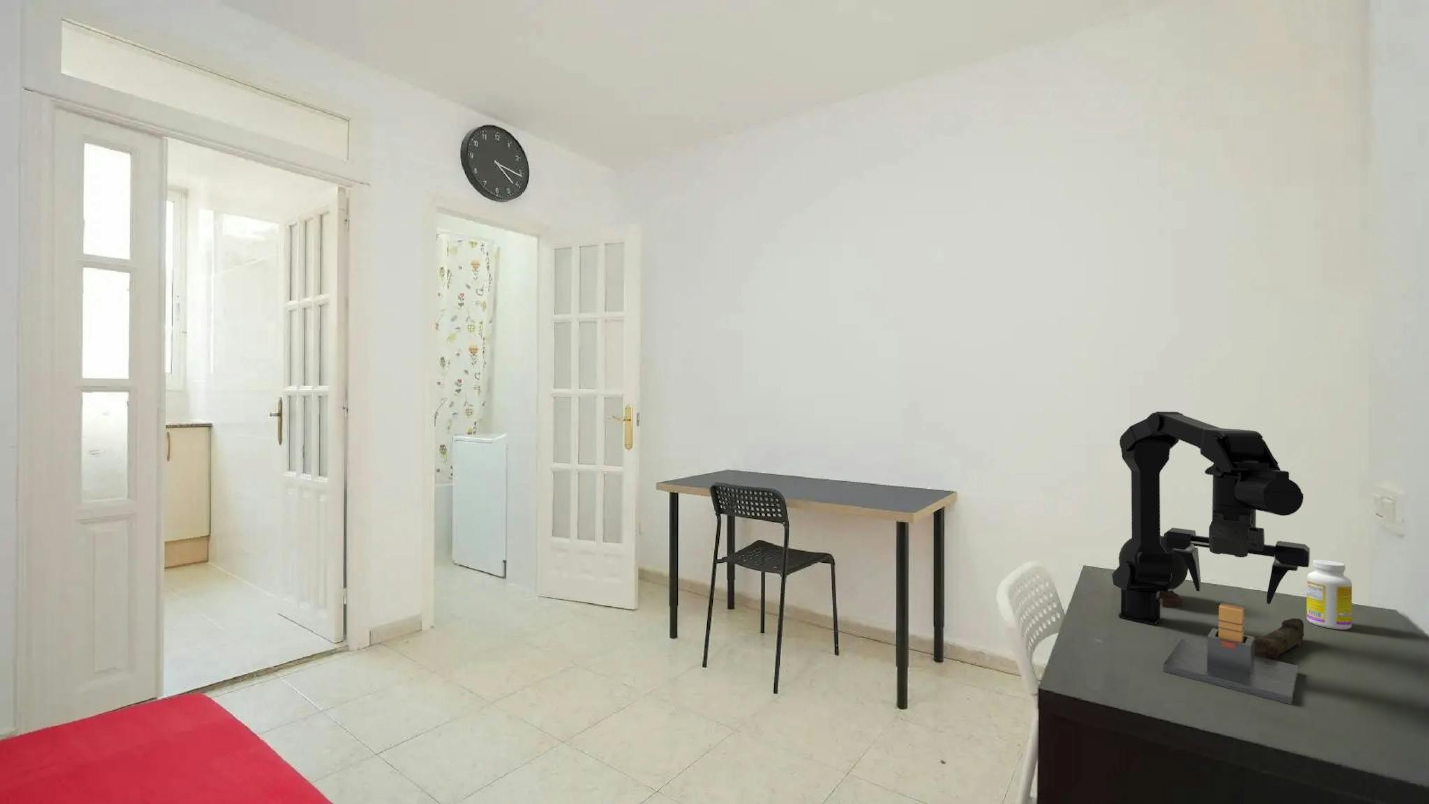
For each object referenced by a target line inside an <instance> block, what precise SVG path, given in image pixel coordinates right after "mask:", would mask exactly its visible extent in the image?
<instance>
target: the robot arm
mask: <svg viewBox="0 0 1429 804" xmlns="http://www.w3.org/2000/svg"><path fill="white" fill-rule="evenodd" d="M1179 441H1182V442H1184V443H1187V444H1189V445H1191V446H1194V447H1196V448H1198V449H1199V451H1200V455H1201V456H1203V457H1204V458H1206V459H1207V460H1208V461H1210V462H1211V463H1212V465H1211V466H1209V467H1207V468H1206V469H1205V470H1204V474H1206V475H1210V476H1212V497H1211V498H1212V499H1211V501H1212V502H1211V503H1212V504H1211V505H1212V507H1211V522H1210V524H1209V527H1208V536H1202V535H1197V532H1196V530H1193V529H1187V528H1186V529H1185V528H1177V527H1170V529H1168V530H1167V531H1165V532H1164V533H1163V536H1164V537H1163V546H1164V547H1167V548H1174V549H1173V550H1172V551H1173V553H1176V554H1179V555H1180V556H1181V557H1182V558H1183V560H1184V562H1185V563H1186V565H1187V567H1188V572H1189V574H1190V576H1191V580H1192V582H1193V585H1194V588H1195V590H1196V592H1201V587H1202V585H1201V584H1202V578H1201V569H1200V558H1199V557H1200V555H1199V548H1205V549H1206V548H1208V549H1209V552H1211V553H1212V554H1214V555H1215V554H1216V555H1230V556H1234V557H1235V558H1246V557H1248V556H1249V555H1258V556H1263V557H1270V558H1271V557H1272V558H1274V559H1273V563H1272V565H1271V571H1270V577H1269V583H1268V588H1267V593H1266V604H1267V605H1270V604H1271V603H1272V600H1273V599H1274V596H1275V594H1276V591H1277V589H1278V587H1279V584H1280V583H1281V581H1282V580H1283V578H1284V577H1285V576H1286V574H1287V573H1288V572H1289V571H1292V572H1297V571H1298V569H1299V568H1310V562H1311V561H1310V559H1311V550H1310V547H1309V546H1308V545H1307V544H1305V543H1298V542H1292V541H1290V542H1289V541H1282V540H1277V541H1276V543H1275V545H1272V544H1265V528H1263V527H1257V511H1259V512H1264V513H1268V514H1272V515H1278V516H1281V517H1282V516H1283V517H1285V516H1290V515H1294V514H1295V513H1296V512H1297V511H1298V510H1299V509H1300V508H1301V507H1302V505H1303V503H1304V493H1303V492H1302V489H1301V488H1300V486H1299V485H1298V483H1296V482H1295V481H1294V480H1292V479H1290V472H1289V471H1288V470H1287V471H1286V470H1281V468H1280V466H1279V462H1278V461H1277V459H1276V458H1275V457H1274V456H1273V454H1272V452H1271V450H1270V448H1269V446H1268V445H1267V442H1266V441H1265V439H1264V437H1263V435H1262V434H1261V433H1260V432H1259V431H1256V430H1249V429H1240V428H1239V429H1238V428H1237V429H1236V428H1223V427H1219V426H1216V425H1212V424H1210V423H1207V422H1204V421H1202V420H1198V419H1195V418H1193V417H1189V416H1187V415H1184V414H1183V413H1181V412H1179V411H1155V412H1152V413H1150V414H1149V416H1148V417H1147V418H1145V419H1143V420H1141V421H1139V422H1136V423H1134V424H1132V425H1130V426H1129V427H1128V428H1127V429H1126V430H1125V431H1124V432H1123V433H1122V435H1121V436H1120V439H1119V446H1120V449H1121V450H1120V451H1121V458H1122V460H1123V461H1124V463H1125V464H1126V466H1127V467H1128V468H1129V470H1130V473H1131V474H1130V480H1131V481H1130V482H1131V483H1130V485H1131V486H1130V490H1131V501H1130V502H1131V538H1132V540H1131V541H1130V543H1129V544H1128V546H1127V547H1126V548H1125V550H1124V551H1123V556H1122V563H1121V564H1120V565H1118V566H1117V568H1116V569H1115V571H1113V572H1112V574H1111V576H1112V577H1111V578H1112V583H1113V585H1114V586H1116V587H1117V588H1120V612H1119V613H1118V617H1119V618H1120V619H1121V618H1122V619H1127V620H1131V621H1134V622H1140V623H1144V624H1149V625H1153V626H1154V625H1156V624H1158V622H1159V621H1160V620H1162V618H1163V607H1162V606H1163V599H1162V598H1159V592H1168V590H1169V586H1170V582H1171V579H1172V575H1173V569H1172V560H1173V557H1172V555H1171V554H1170V553H1167V552H1166V551H1165V549H1164V548H1163V546H1162V545H1161V542H1160V536H1161V484H1160V483H1161V480H1160V479H1161V477H1160V475H1161V471H1162V470H1163V469H1164V467H1165V466H1166V465H1167V463H1168V462H1169V460H1170V455H1171V454H1170V453H1171V449H1173V447H1175V446H1176V444H1178V443H1179ZM1198 547H1199V548H1198Z"/></svg>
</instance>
